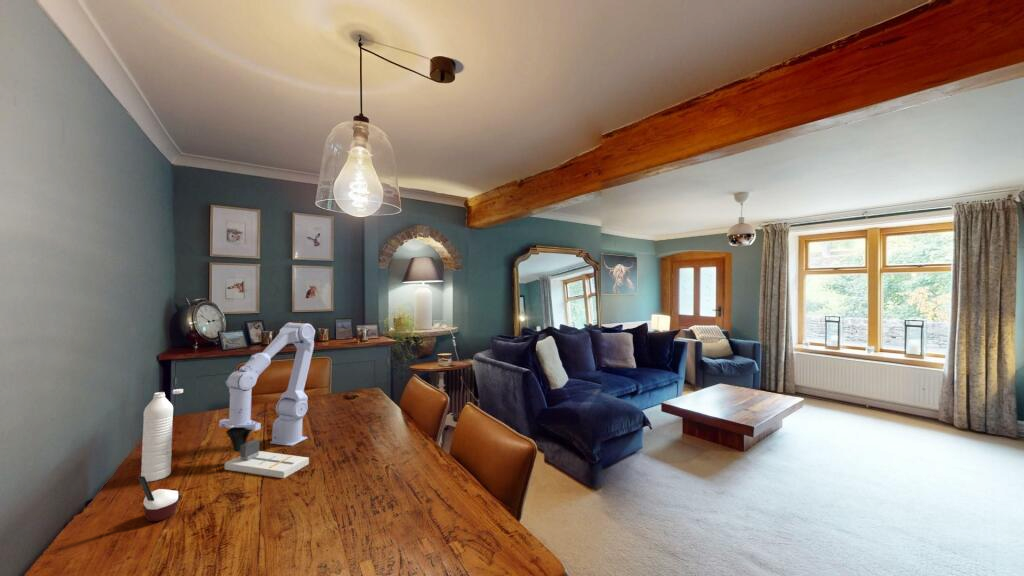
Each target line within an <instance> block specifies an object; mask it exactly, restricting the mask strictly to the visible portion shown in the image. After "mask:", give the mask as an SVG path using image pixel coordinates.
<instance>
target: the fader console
mask: <svg viewBox="0 0 1024 576" xmlns="http://www.w3.org/2000/svg"><path fill="white" fill-rule="evenodd" d="M309 464H310V457H308V456H307V457H306V456H298V455H293V454H292V455H291V454H285V453H284V454H283V453H279V452H278V453H276V452H271V451H270V452H269V451H262V450H261V451H260V450H259V455H258V456H256V457H254V458H252V459H250V460H243V459H240V455H239V456H237V457H234V458H232V459H231V460H228V461H226V462H224V470H227V471H232V472H240V473H248V474H254V475H258V476H259V475H260V476H266V477H272V478H278V479H279V478H280V479H285V478H288V477H289V476H290V475H292V474H294V473H296V472H297V471H299V470H300V469H302V468H305V467H306V466H307V465H309Z"/></svg>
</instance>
